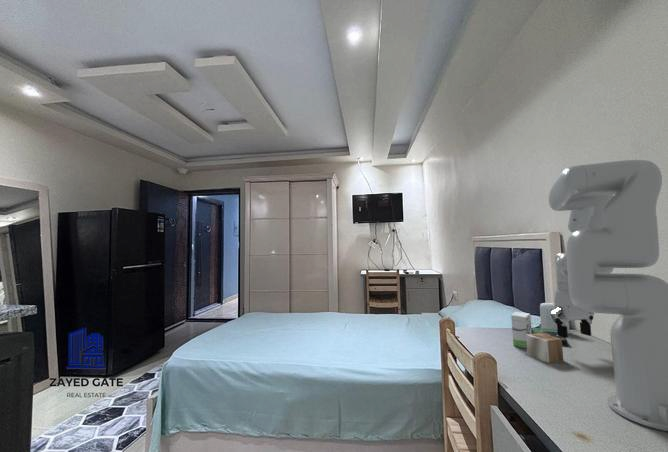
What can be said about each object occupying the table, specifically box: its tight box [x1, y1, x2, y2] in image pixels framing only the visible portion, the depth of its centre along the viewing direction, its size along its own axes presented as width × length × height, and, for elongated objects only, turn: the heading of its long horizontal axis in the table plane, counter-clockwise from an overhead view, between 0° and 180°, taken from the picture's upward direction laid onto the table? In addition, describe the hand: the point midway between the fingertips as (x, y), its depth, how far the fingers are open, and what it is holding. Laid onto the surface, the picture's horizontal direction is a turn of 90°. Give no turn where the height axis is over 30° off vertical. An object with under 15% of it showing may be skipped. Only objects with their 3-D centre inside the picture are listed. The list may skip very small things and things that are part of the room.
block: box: [526, 333, 564, 364], centre depth 94 cm, size 7×7×7 cm
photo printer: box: [539, 302, 570, 335], centre depth 123 cm, size 10×4×12 cm, turn 36°
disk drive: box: [531, 327, 569, 347], centre depth 113 cm, size 10×3×15 cm
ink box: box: [510, 311, 532, 349], centre depth 107 cm, size 9×5×12 cm, turn 134°
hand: (574, 335), depth 97 cm, fingers open, 9 cm apart
